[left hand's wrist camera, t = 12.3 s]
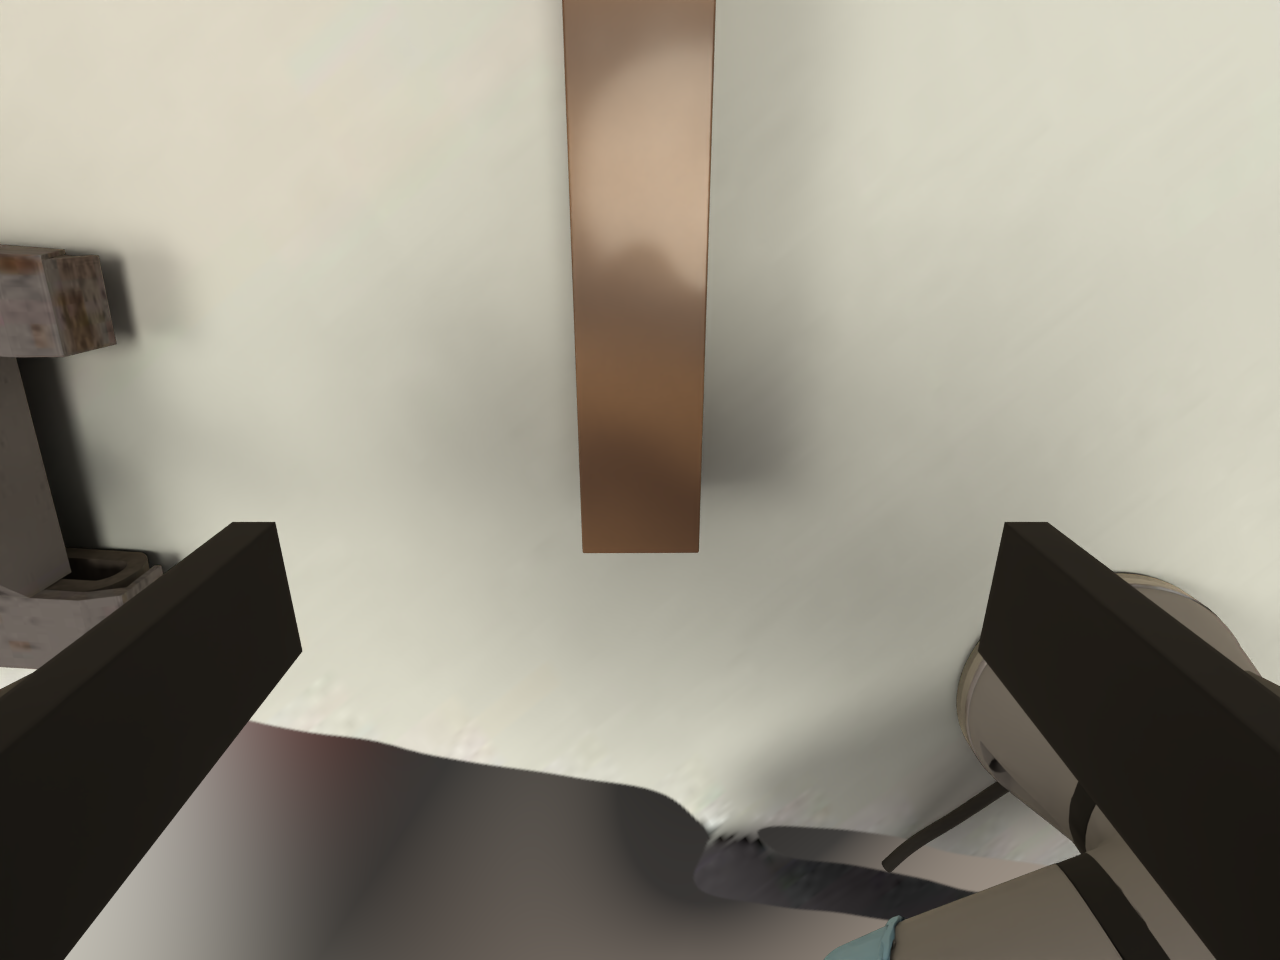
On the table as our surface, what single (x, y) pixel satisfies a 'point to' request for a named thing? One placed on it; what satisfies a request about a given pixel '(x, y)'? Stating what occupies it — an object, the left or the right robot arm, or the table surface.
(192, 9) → the table surface
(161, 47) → the table surface
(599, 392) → the bar
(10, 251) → the toy
